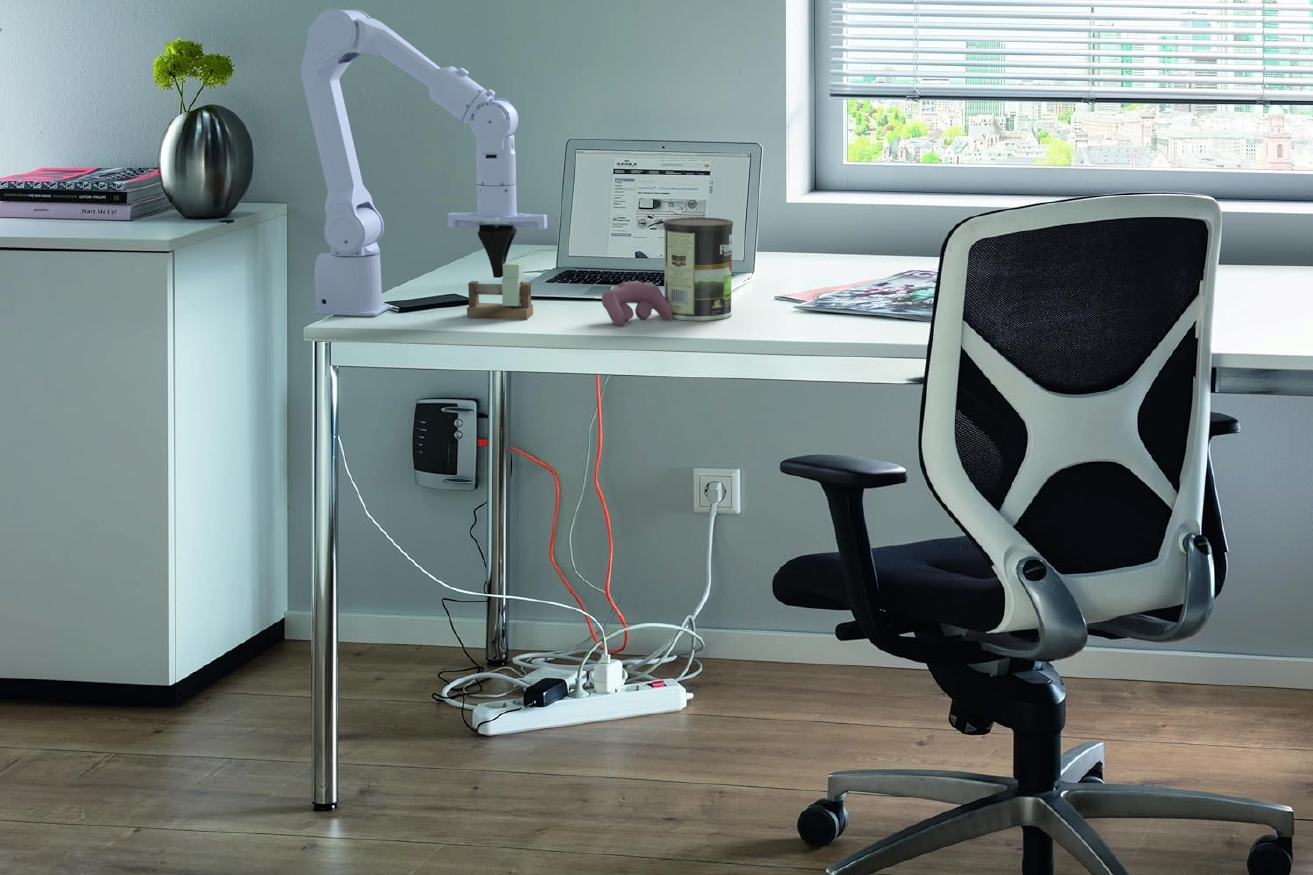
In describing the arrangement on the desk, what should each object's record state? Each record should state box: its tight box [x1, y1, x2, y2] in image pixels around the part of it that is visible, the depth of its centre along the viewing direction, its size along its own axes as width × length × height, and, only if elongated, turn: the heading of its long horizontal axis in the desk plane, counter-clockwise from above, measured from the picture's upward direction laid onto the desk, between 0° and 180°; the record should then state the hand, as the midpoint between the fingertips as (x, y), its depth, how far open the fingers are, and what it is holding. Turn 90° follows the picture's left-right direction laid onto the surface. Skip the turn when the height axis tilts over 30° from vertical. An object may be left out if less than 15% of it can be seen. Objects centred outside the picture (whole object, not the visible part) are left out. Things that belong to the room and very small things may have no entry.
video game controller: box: [601, 280, 673, 328], centre depth 228 cm, size 10×5×7 cm, turn 123°
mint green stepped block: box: [501, 260, 526, 306], centre depth 230 cm, size 2×4×6 cm, turn 172°
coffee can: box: [662, 216, 734, 322], centre depth 231 cm, size 10×10×14 cm
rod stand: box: [466, 280, 534, 321], centre depth 231 cm, size 9×4×5 cm, turn 82°
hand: (498, 276), depth 230 cm, fingers closed
